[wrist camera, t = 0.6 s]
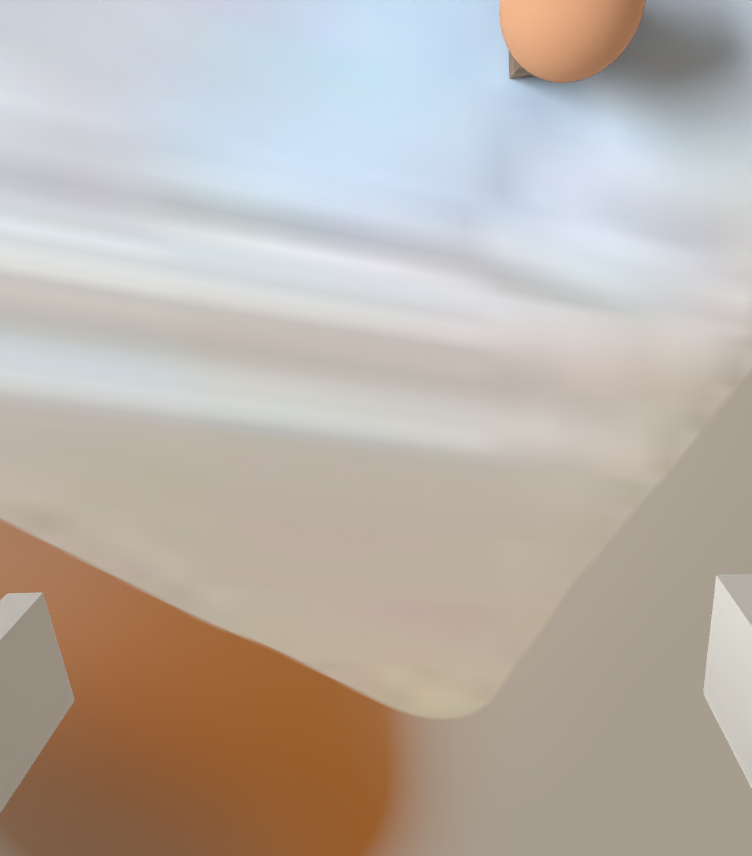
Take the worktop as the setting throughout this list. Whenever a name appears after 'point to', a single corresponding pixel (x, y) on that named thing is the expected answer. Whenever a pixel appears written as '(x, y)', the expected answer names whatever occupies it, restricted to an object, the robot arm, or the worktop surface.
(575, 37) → the ball
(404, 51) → the worktop surface
